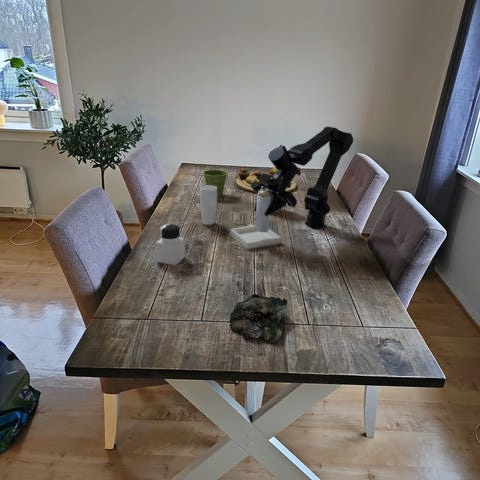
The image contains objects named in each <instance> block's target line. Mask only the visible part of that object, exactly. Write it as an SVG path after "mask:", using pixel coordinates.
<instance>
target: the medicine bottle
mask: <svg viewBox="0 0 480 480" xmlns="http://www.w3.org/2000/svg"><path fill="white" fill-rule="evenodd" d="M159 229H160V239H158V240H157V241H155V258H156V259H155V260H156V263H160V264H164V265H171V266H177V265H178V264H179V263H180V262H181V261H183V260H184V258H185V257H186V241H185V240H186V239H185V237H181V236H180V235H181V234H180V227H179V226H178V225H177V224H175V223H174V224H173V223H168V224H164V225H161V227H160V228H159Z"/></svg>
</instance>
